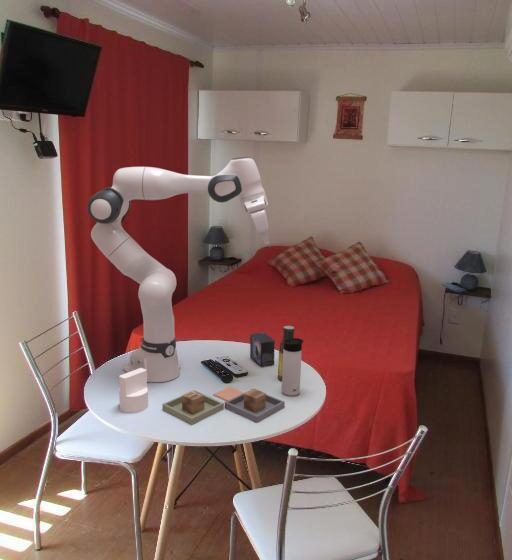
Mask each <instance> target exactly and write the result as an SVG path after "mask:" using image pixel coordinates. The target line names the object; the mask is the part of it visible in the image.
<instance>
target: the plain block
mask: <svg viewBox="0 0 512 560" xmlns="http://www.w3.org/2000/svg"><path fill="white" fill-rule="evenodd" d="M252 389H253V390H251V389H250V390H251V391H249V390H247V391H248V392H247V391H245V392H246V393H245V392H244V408H245V409H248V410H250V411H252V412H255V413H256V412H258V411H260V410H262V409H264V408H266V394H267V393H266V392H263V391H261V390H258V389H256V388H252Z"/></svg>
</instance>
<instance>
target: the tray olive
mask: <svg viewBox="0 0 512 560" xmlns="http://www.w3.org/2000/svg"><path fill="white" fill-rule="evenodd" d="M194 391H196V390H194ZM198 392H199V391H198ZM199 393H201V392H199ZM201 394H203V395H204V410H202V411H200V412H198V413H196V414H193V415H192V414H190V413H188V412H186V411H184V410H182V395H180V396H178V397H175V398H174V399H171V400H169V401H166V402H164V403H162V411H164V412H166V413H167V414H169V415H172V416H174V417H175V418H178V419H179V420H181V421H184V422H185V423H187V424H189V425H191V426H193V425H195V424H197V423H199V422H201V421H203V420H205V419H207V418H209V417H212V415H216V414H217V413H219V412H221V411H223V410H224V409H225V402H221V401H219V400H217V399H215V398H212V397H211V396H209V395H206V394H204V393H201Z"/></svg>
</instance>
